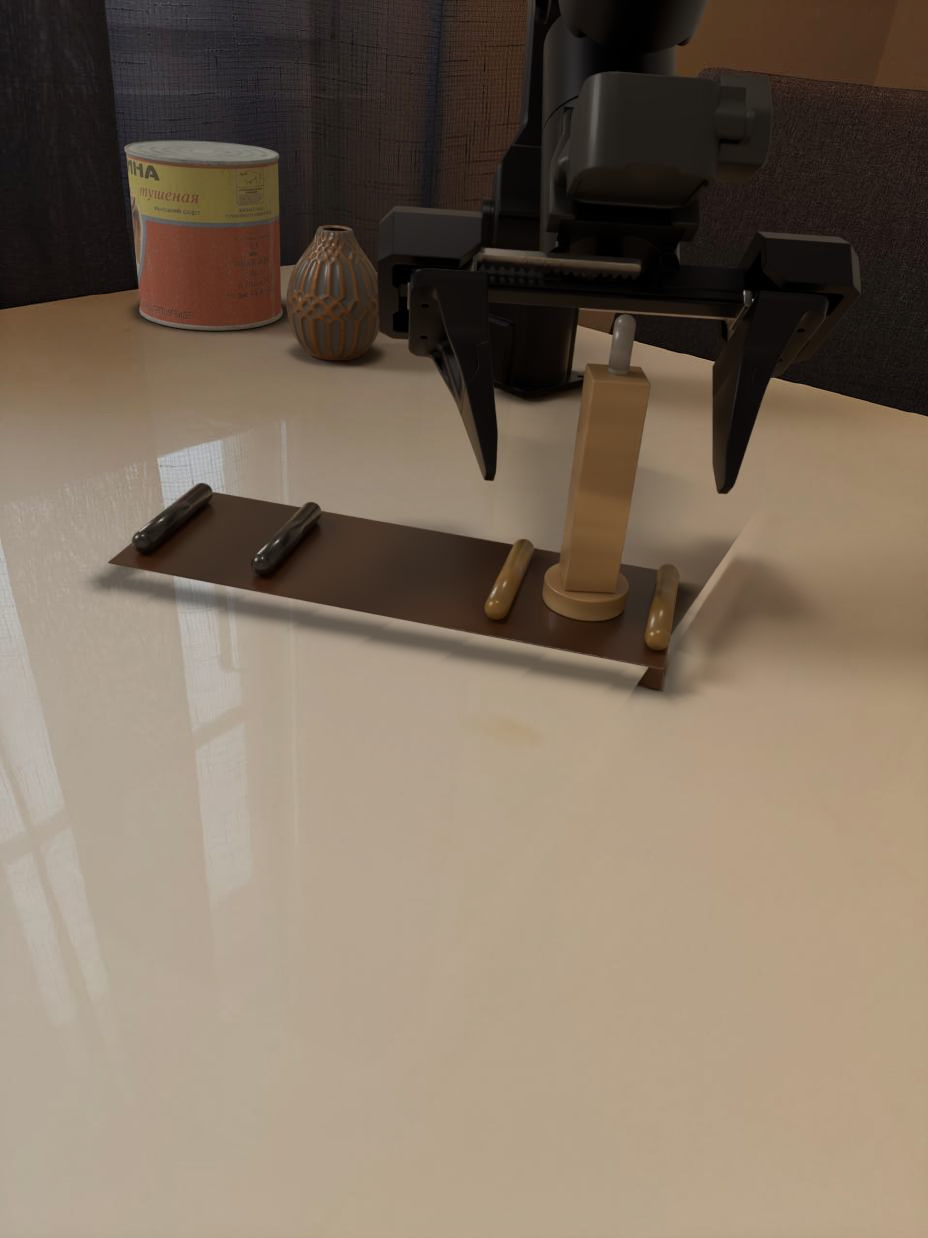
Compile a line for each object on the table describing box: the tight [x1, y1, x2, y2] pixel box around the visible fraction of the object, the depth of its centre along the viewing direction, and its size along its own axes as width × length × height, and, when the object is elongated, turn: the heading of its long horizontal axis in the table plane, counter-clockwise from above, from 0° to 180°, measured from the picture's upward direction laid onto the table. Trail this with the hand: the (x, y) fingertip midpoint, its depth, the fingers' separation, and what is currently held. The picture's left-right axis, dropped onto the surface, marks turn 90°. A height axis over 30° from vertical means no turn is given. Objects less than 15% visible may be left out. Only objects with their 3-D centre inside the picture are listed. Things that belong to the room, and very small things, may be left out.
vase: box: [286, 224, 380, 361], centre depth 73 cm, size 7×7×9 cm
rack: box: [107, 482, 680, 690], centre depth 45 cm, size 24×8×2 cm, turn 76°
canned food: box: [124, 139, 284, 332], centre depth 79 cm, size 11×11×12 cm
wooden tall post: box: [542, 313, 652, 621], centre depth 41 cm, size 4×4×12 cm
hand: (608, 483), depth 39 cm, fingers open, 9 cm apart
